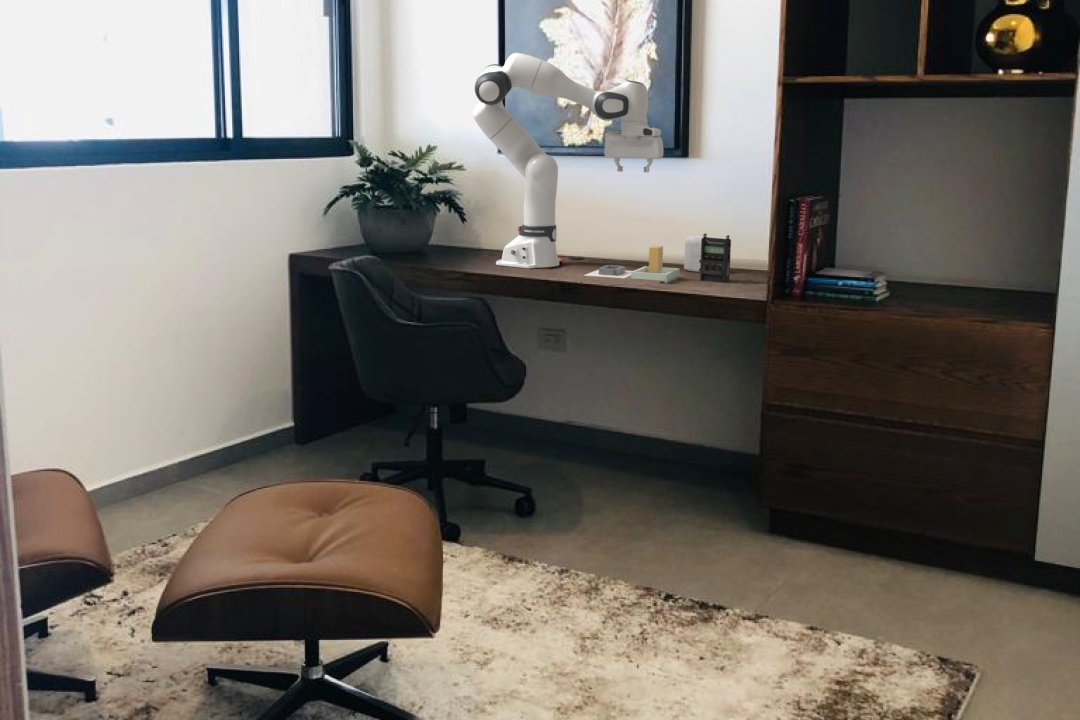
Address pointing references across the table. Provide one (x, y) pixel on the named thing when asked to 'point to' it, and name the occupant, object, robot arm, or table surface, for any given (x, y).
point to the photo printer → (693, 253)
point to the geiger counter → (715, 259)
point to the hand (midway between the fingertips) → (633, 171)
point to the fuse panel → (611, 272)
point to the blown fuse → (655, 259)
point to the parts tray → (656, 274)
